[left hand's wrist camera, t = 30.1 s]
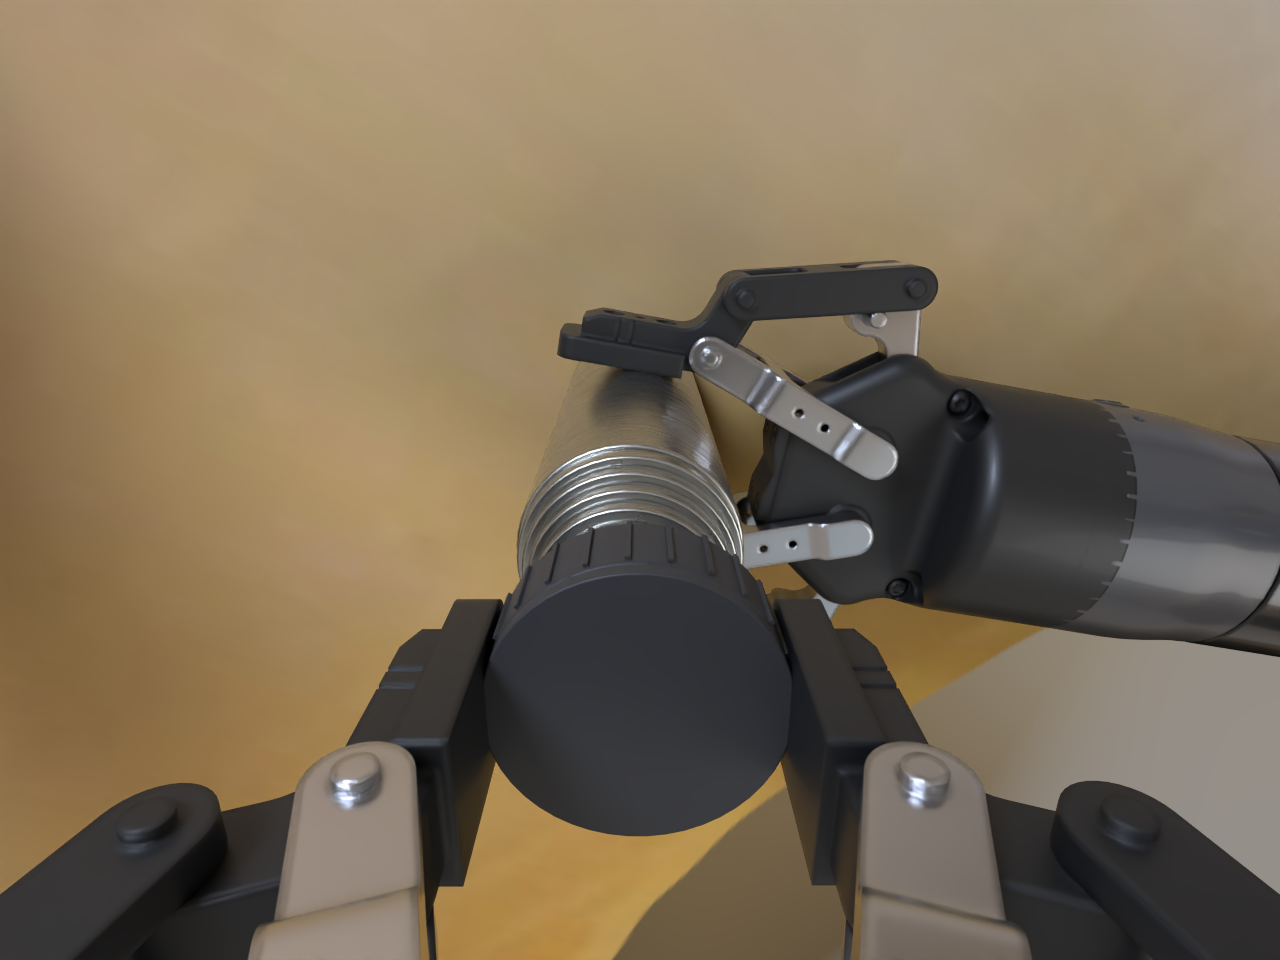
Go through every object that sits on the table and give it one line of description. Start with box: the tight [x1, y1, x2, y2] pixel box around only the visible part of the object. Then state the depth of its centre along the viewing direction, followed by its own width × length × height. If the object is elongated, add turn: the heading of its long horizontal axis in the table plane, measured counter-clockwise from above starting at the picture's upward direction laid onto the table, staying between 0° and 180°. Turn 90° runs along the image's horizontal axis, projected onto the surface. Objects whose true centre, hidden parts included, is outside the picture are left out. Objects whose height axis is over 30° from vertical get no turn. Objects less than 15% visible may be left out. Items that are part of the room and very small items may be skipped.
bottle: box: [517, 361, 744, 580], centre depth 20 cm, size 5×5×19 cm
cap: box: [484, 521, 792, 836], centre depth 12 cm, size 5×5×2 cm
